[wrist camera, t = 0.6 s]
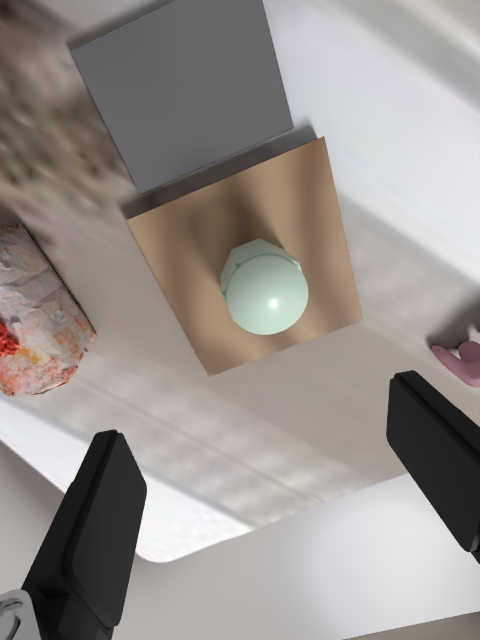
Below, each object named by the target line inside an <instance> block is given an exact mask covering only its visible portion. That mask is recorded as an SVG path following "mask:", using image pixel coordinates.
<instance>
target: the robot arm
mask: <svg viewBox="0 0 480 640" xmlns="http://www.w3.org/2000/svg"><path fill="white" fill-rule="evenodd" d="M386 436H387V440H388V443H389V445H390V446H391V448H392V449H393V450H394V452H395V453H396V455H397V456H398V458H399V459H400V460H401V462H402V463H403V465H404V466H405V468H406V469H407V470H408V472H409V473H410V475H411V476H412V478H413V479H414V480H415V482H416V483H417V485H418V486H419V488H420V489H421V490H422V492H423V493H424V495H425V496H426V498H427V499H428V500H429V502H430V503H431V505H432V506H433V508H434V509H435V510H436V512H437V513H438V515H439V516H440V518H441V519H442V520H443V522H444V523H445V524H446V526H447V528H448V529H449V530H450V532H451V533H452V535H453V536H454V538H455V539H456V540H457V542H458V543H459V545H460V546H461V547H462V548H463V549H464V550H465V551H467V552H471V553H472V555H473V556H474V558H475V559H476V560H477V562H478V563H479V564H480V427H479V426H478V425H476V424H475V423H474V422H473V421H472V420H471V419H470V418H469V417H467V416H466V415H465V414H464V413H463V412H462V411H461V410H460V409H458V408H457V407H455V406H454V405H453V404H452V403H451V402H450V401H449V400H447V399H446V398H445V397H444V396H443V395H442V394H441V393H440V392H438V391H437V390H436V389H435V388H434V387H433V386H432V385H431V384H429V383H428V382H427V381H426V380H425V379H424V378H423V377H422V376H420V375H419V374H418V373H417V372H416V371H413V370H411V371H406V372H401V373H396V374H395V375H394V378H393V379H391V380H390V387H389V402H388V416H387V431H386ZM146 495H147V486H146V482H145V480H144V478H143V476H142V474H141V472H140V470H139V467H138V465H137V463H136V461H135V459H134V457H133V455H132V452H131V450H130V448H129V446H128V444H127V442H126V440H125V437H124V435H123V434H122V433H118V432H117V430H108V431H103V432H98V433H97V434H96V435H95V436H94V438H93V440H92V442H91V444H90V447H89V449H88V451H87V453H86V455H85V457H84V460H83V462H82V464H81V466H80V468H79V470H78V473H77V475H76V477H75V479H74V481H73V482H72V483H71V484H70V486H69V488H68V490H67V492H66V494H65V496H64V498H63V501H62V502H61V505H60V507H59V509H58V511H57V513H56V515H55V517H54V520H53V522H52V524H51V526H50V528H49V530H48V533H47V534H46V537H45V539H44V541H43V543H42V545H41V547H40V549H39V551H38V554H37V556H36V558H35V560H34V562H33V564H32V566H31V568H30V571H29V573H28V575H27V577H26V579H25V581H24V583H23V585H22V588H21V589H19V590H11V591H9V592H7V593H5V594H2V595H0V640H111V639H112V634H113V630H114V626H117V625H118V624H119V622H120V620H121V616H122V612H123V607H124V602H125V597H126V592H127V588H128V582H129V578H130V573H131V568H132V563H133V558H134V553H135V549H136V544H137V539H138V534H139V529H140V524H141V519H142V515H143V510H144V505H145V500H146ZM344 640H480V611H479V612H474V613H469V614H464V615H460V616H454V617H450V618H444V619H440V620H435V621H430V622H425V623H421V624H416V625H411V626H406V627H401V628H396V629H392V630H387V631H382V632H377V633H372V634H367V635H363V636H358V637H354V638H349V639H344Z"/></svg>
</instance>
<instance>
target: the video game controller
mask: <svg viewBox="0 0 480 640" xmlns="http://www.w3.org/2000/svg"><path fill="white" fill-rule="evenodd" d="M432 352H433V353H434V355H435V356H436V357H437V358H438V360H439V361H440V362H441V363H442V364H443V365H444V366H445V367H446V368H447V369H448V370H450V371H451V372H452V373H453V374H454V375H456V376H457V377H458V378H460V379H461V380H462V381H463V382H464V383H466V384H467V385H469V386H471V387H475V388H480V344H478V343H477V342H474V341H466V342H464V343H462V344H461V345H460V346H459V348H458V352H459V355H460V357H461V360H460V359H459V358H457V357H456V356H454V355H453V354H452V353H450V352H449V351H448V350H446V349H444V348H442V347H440V346H438V345H433V346H432Z"/></svg>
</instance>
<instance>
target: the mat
mask: <svg viewBox="0 0 480 640" xmlns="http://www.w3.org/2000/svg"><path fill="white" fill-rule="evenodd" d="M70 53H71V55H72V57H73V59H74V61H75V63H76V65H77V67H78V69H79V71H80V73H81V75H82V77H83V79H84V81H85V83H86V85H87V87H88V89H89V91H90V93H91V95H92V97H93V99H94V101H95V103H96V105H97V108H98V110H99V112H100V114H101V116H102V118H103V120H104V122H105V124H106V126H107V128H108V130H109V132H110V134H111V136H112V138H113V140H114V142H115V144H116V146H117V148H118V150H119V152H120V154H121V156H122V158H123V160H124V162H125V164H126V166H127V169H128V171H129V173H130V175H131V177H132V179H133V181H134V183H135V185H136V187H137V189H138V191H139V193H140V194H142V193H144V192H147V191H149V190H151V189H154V188H156V187H158V186H161V185H163V184H165V183H168V182H170V181H172V180H175V179H177V178H179V177H181V176H184V175H186V174H188V173H191V172H193V171H195V170H198V169H200V168H202V167H205V166H207V165H209V164H212V163H214V162H216V161H219V160H221V159H223V158H225V157H228V156H230V155H232V154H235V153H237V152H239V151H242V150H244V149H246V148H249V147H251V146H253V145H256V144H258V143H260V142H262V141H265V140H267V139H269V138H272V137H274V136H276V135H279V134H281V133H283V132H286V131H288V130H290V129H292V128H293V127H294V126H293V122H292V118H291V114H290V110H289V106H288V102H287V98H286V94H285V90H284V86H283V82H282V78H281V74H280V70H279V66H278V62H277V58H276V54H275V50H274V46H273V42H272V38H271V34H270V30H269V26H268V22H267V18H266V13H265V9H264V5H263V1H262V0H175V1H173V2H171V3H168V4H166V5H164V6H162V7H160V8H158V9H156V10H154V11H152V12H150V13H148V14H146V15H144V16H142V17H140V18H138V19H136V20H134V21H132V22H130V23H128V24H125V25H123V26H121V27H119V28H117V29H115V30H113V31H111V32H109V33H107V34H105V35H103V36H101V37H99V38H97V39H95V40H93V41H91V42H89V43H87V44H85V45H82V46H80V47H78V48H76V49H74V50H72V51H70Z"/></svg>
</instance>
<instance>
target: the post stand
mask: <svg viewBox="0 0 480 640" xmlns="http://www.w3.org/2000/svg"><path fill="white" fill-rule="evenodd" d="M126 222H127V224H128V226H129V227H130V229H131V231H132V233H133V235H134V237H135V239H136V241H137V242H138V244H139V246H140V248H141V250H142V252H143V254H144V256H145V257H146V259H147V261H148V263H149V265H150V267H151V269H152V271H153V273H154V274H155V276H156V278H157V280H158V282H159V284H160V286H161V288H162V289H163V291H164V293H165V295H166V297H167V299H168V301H169V303H170V304H171V306H172V308H173V310H174V312H175V314H176V316H177V318H178V320H179V321H180V323H181V325H182V327H183V329H184V331H185V333H186V335H187V336H188V338H189V340H190V342H191V344H192V346H193V348H194V350H195V351H196V353H197V355H198V357H199V359H200V361H201V363H202V365H203V366H204V368H205V370H206V372H207V374H208V376H212V375H215V374H218V373H220V372H223V371H226V370H229V369H231V368H234V367H237V366H240V365H242V364H245V363H248V362H250V361H253V360H256V359H259V358H261V357H264V356H267V355H270V354H272V353H275V352H278V351H280V350H283V349H286V348H289V347H291V346H294V345H297V344H300V343H302V342H305V341H308V340H310V339H313V338H316V337H319V336H321V335H324V334H327V333H330V332H332V331H335V330H338V329H340V328H343V327H346V326H349V325H351V324H354V323H357V322H360V321H362V320H363V318H362V313H361V309H360V304H359V299H358V294H357V290H356V285H355V280H354V275H353V271H352V266H351V261H350V256H349V252H348V247H347V242H346V237H345V233H344V228H343V223H342V218H341V214H340V209H339V204H338V200H337V195H336V190H335V185H334V181H333V176H332V171H331V166H330V162H329V157H328V152H327V147H326V143H325V138H324V136H323V137H321V138H319V139H316V140H314V141H312V142H309V143H307V144H305V145H302V146H300V147H298V148H295V149H293V150H291V151H288V152H286V153H284V154H281V155H279V156H276V157H274V158H272V159H269V160H267V161H265V162H262V163H260V164H258V165H255V166H253V167H251V168H248V169H246V170H244V171H241V172H239V173H237V174H234V175H232V176H230V177H227V178H225V179H222V180H220V181H218V182H215V183H213V184H211V185H208V186H206V187H204V188H201V189H199V190H197V191H194V192H192V193H190V194H187V195H185V196H183V197H180V198H178V199H176V200H173V201H171V202H168V203H166V204H164V205H161V206H159V207H157V208H154V209H152V210H150V211H147V212H145V213H143V214H140V215H138V216H136V217H133V218H131V219H129V220H126ZM259 238H260V239H262V240H264V241H267V242H269V243H271V244H273V245H275V246H278V247H280V248H282V249H284V250H286V251H287V252H288V253H289V254H290V255H292V256H293V257H294V258H295V259H296V260H297V261H298V262H299V264H300V267H301V270H302V274H303V276H304V277H305V279H306V282H307V286H308V301H307V305H306V308H305V310H304V312H303V314H302V315H301V317H300V318H299V319H298V320H297V321H296V322H295V323H294V324H293V325H292V326H290V327H289V328H287V329H286V330H283V331H281V332H278V333H275V334H269V335H260V334H255V333H251V332H249V331H247V330H245V329H243V328H242V327H240V326H239V325H238V324H237V323H236V322H234V320H233V318H232V316H231V314H230V312H229V309H228V307H227V304H226V302H225V300H224V297H223V295H222V294H221V278H220V275H221V273H222V271H223V269H224V266H225V264H226V262H227V259H228V257H229V255H230V252H231V249H234V248H236V247H239V246H241V245H244V244H246V243H249V242H251V241H254V240H256V239H259Z"/></svg>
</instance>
